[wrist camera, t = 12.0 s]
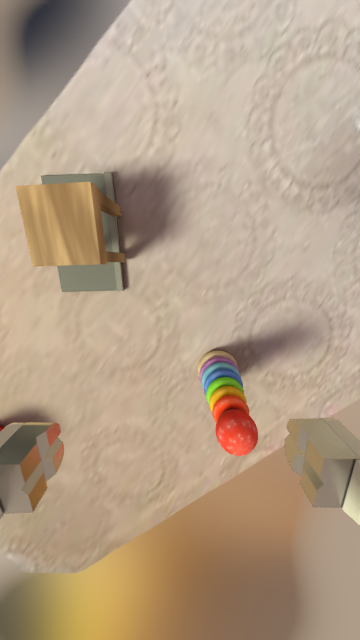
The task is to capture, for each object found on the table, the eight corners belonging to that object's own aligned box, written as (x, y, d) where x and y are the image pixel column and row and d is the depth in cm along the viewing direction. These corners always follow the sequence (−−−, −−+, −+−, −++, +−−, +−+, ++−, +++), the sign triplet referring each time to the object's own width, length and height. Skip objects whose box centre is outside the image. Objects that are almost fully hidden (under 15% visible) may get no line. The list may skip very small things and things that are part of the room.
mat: (112, 174, 32) (110, 171, 31) (124, 289, 37) (122, 290, 36) (42, 176, 32) (38, 174, 31) (63, 291, 37) (60, 292, 36)
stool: (90, 181, 23) (15, 186, 24) (100, 264, 25) (32, 266, 26) (120, 204, 32) (65, 207, 33) (125, 263, 35) (74, 265, 35)
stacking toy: (224, 341, 40) (263, 407, 22) (243, 373, 41) (292, 457, 23) (189, 361, 41) (198, 439, 23) (209, 390, 43) (231, 485, 25)
